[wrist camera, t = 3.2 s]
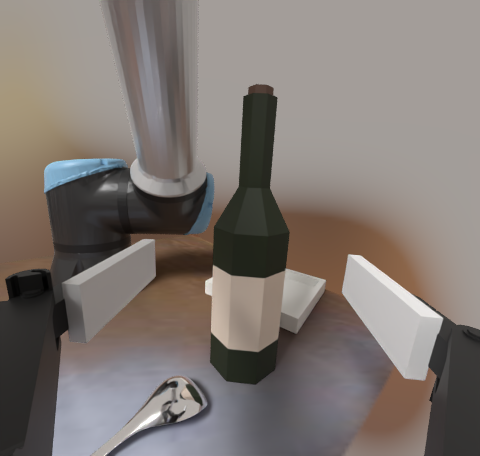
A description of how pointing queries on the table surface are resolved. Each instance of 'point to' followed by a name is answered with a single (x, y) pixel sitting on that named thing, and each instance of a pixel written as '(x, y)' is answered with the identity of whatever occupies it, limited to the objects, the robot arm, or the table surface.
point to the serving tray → (294, 298)
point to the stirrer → (161, 409)
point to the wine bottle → (249, 255)
